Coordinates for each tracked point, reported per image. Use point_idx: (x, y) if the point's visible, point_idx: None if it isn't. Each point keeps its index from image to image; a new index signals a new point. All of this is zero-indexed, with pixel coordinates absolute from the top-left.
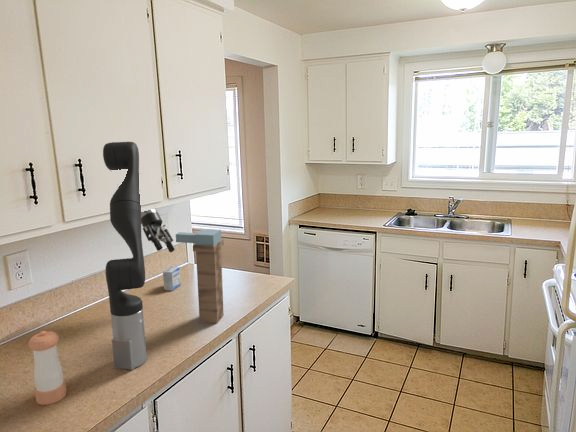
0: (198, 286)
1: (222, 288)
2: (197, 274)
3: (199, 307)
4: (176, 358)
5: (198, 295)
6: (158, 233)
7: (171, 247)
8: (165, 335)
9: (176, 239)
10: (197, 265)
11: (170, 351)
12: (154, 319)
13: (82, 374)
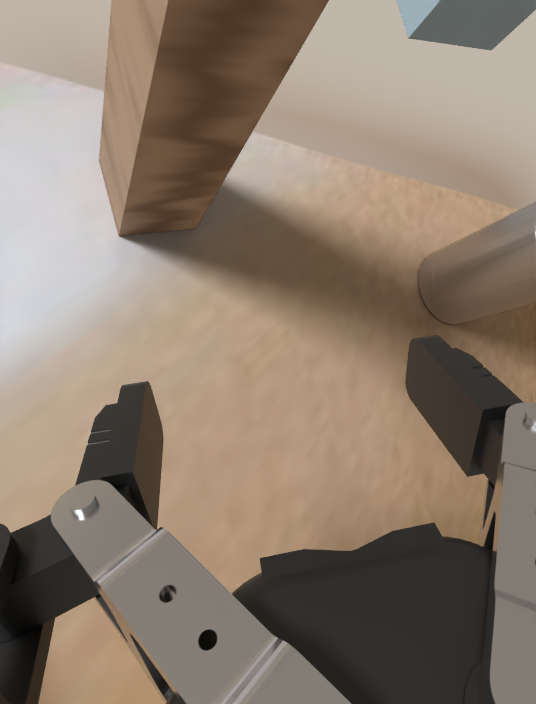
0: (249, 129)
1: (108, 60)
2: (283, 76)
3: (213, 195)
4: (390, 189)
5: (233, 163)
6: (532, 496)
7: (147, 422)
8: (323, 288)
9: (526, 6)
10: (313, 16)
11: (376, 221)
12: (256, 409)
13: (518, 354)
